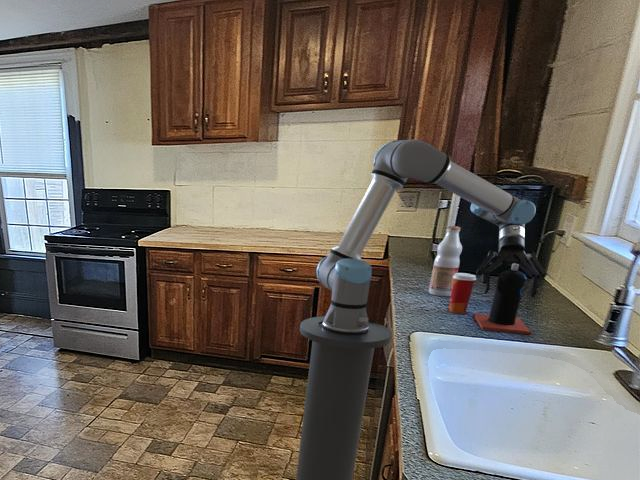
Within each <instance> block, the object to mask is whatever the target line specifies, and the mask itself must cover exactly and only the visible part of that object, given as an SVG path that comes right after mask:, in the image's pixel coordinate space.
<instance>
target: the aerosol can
mask: <svg viewBox="0 0 640 480" xmlns="http://www.w3.org/2000/svg"><path fill="white" fill-rule="evenodd" d="M497 276H498V279H497V282H496V287H495V290H494V295H493V299H492V302H491V303H492V304H491V307H490V311H489V314H488V315H489V318H488V321H489V322H492V323H495V324H501V325H514V324H515V319H516V317H517V315H518V312H519V307H520V304H521V300H522V296H523V292H524V288H525V285H526V281H527V279H528V277H527V276H526V275H525V274H524V273H523V272H521V271H520V270H519V264H512V265H511V267H510V269H509V270H505V271H502V272H501V273H499V274H498V275H497Z"/></svg>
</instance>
